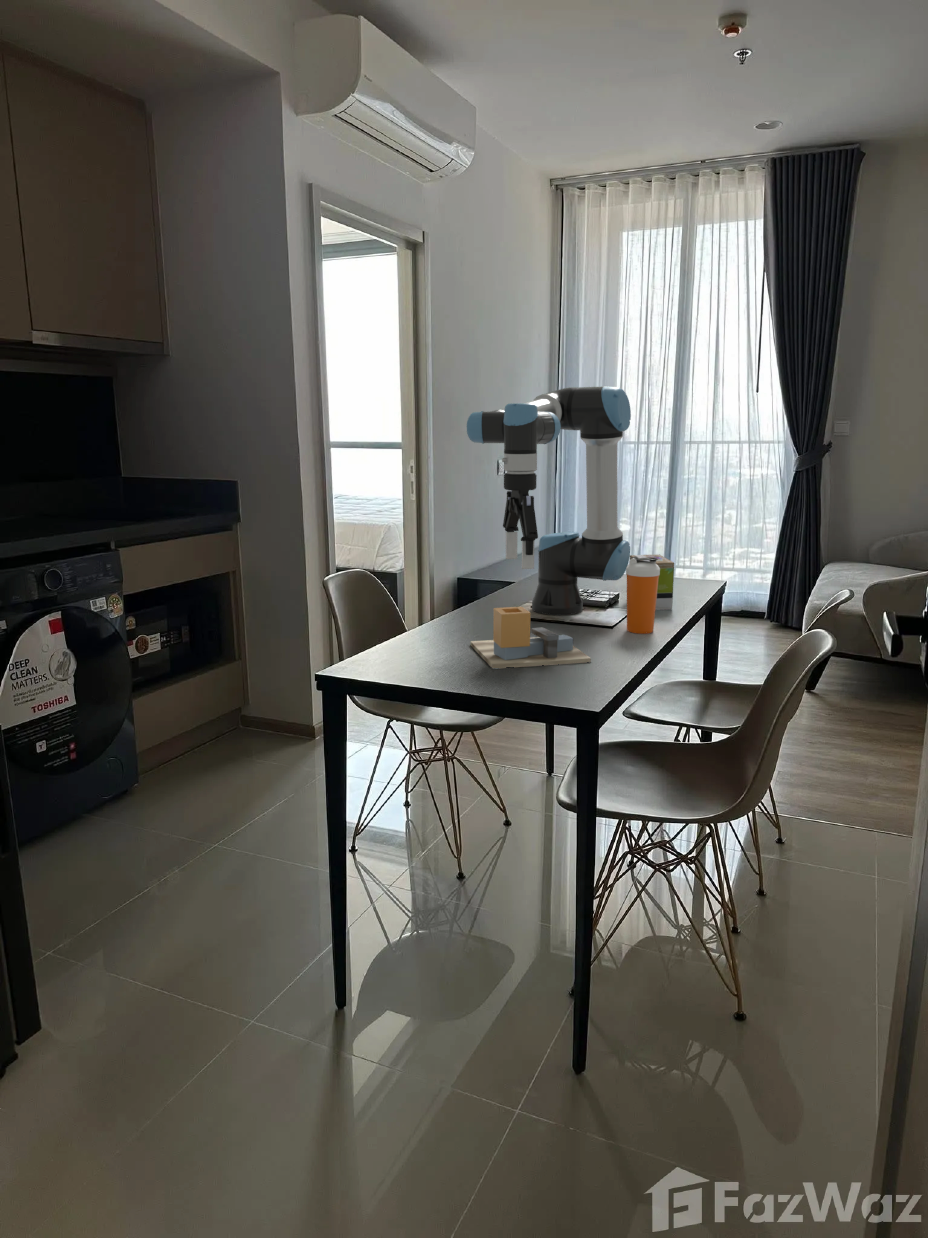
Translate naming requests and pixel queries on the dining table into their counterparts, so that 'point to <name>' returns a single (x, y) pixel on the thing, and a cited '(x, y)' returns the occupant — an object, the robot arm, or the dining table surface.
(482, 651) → the pintle base
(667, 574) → the tea box
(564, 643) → the link
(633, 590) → the shaker bottle
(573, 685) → the dining table surface
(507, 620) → the collar
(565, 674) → the dining table surface
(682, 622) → the dining table surface
